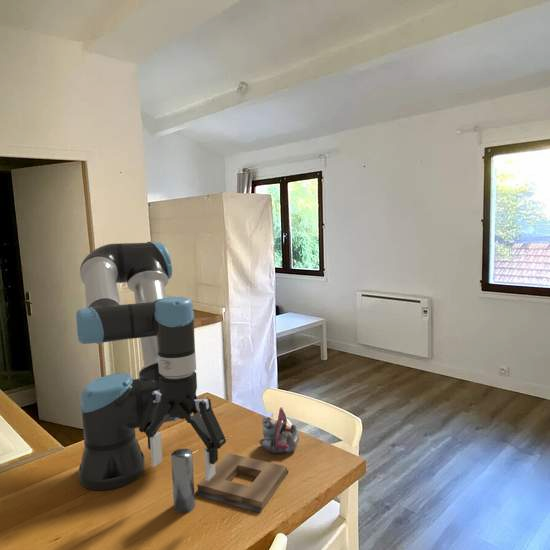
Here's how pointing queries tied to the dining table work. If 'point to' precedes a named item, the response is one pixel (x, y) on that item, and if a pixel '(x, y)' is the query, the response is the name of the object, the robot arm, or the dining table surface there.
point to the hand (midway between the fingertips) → (183, 470)
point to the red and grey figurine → (279, 434)
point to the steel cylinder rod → (183, 480)
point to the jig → (239, 493)
